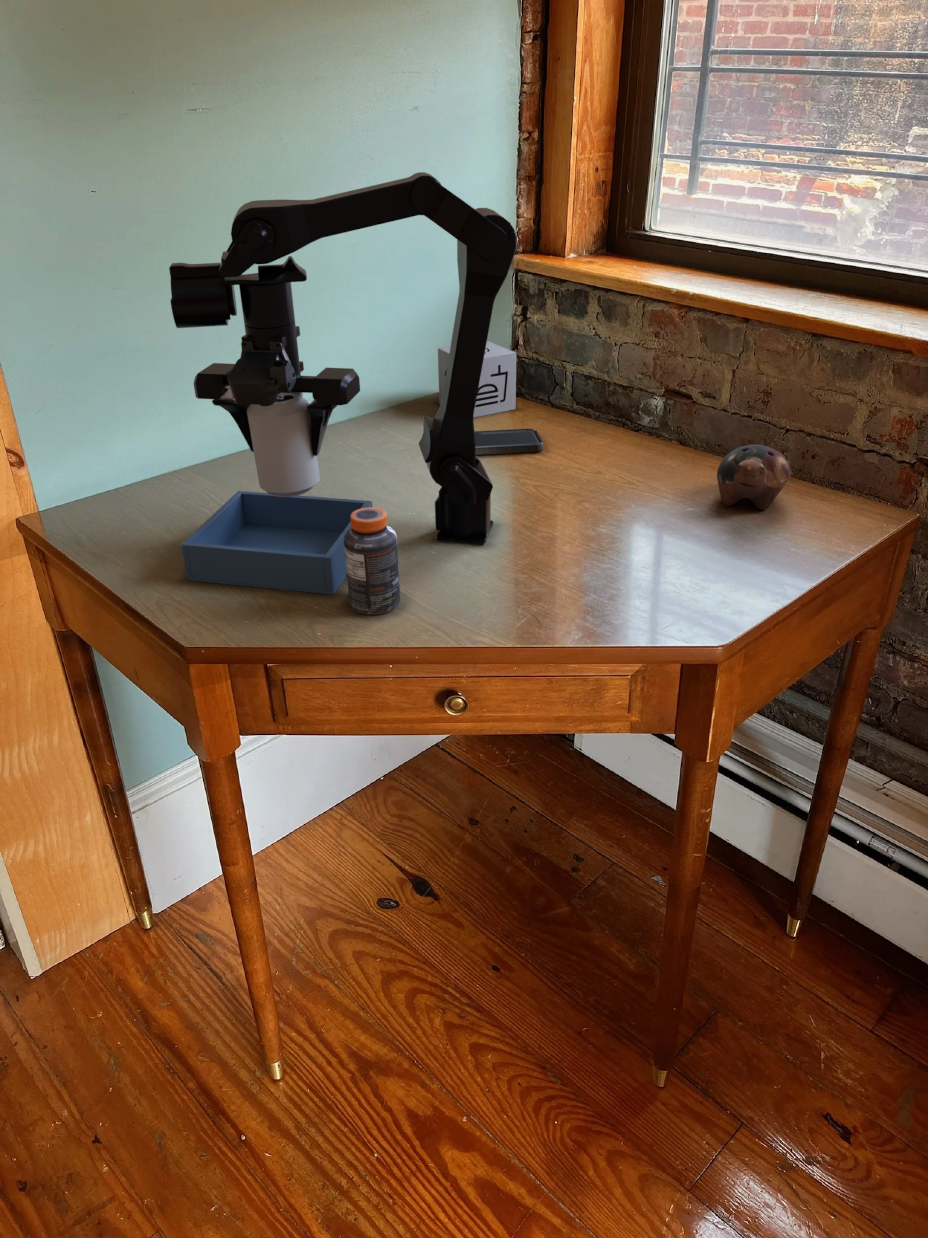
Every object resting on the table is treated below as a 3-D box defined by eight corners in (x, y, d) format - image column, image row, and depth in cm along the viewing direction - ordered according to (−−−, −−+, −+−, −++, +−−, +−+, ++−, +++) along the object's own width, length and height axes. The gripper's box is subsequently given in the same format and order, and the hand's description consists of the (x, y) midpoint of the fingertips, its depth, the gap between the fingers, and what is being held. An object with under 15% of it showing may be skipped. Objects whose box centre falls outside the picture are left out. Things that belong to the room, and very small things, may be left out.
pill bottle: (401, 590, 113) (396, 501, 107) (400, 615, 108) (395, 523, 102) (350, 591, 113) (343, 502, 107) (347, 616, 108) (339, 525, 102)
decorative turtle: (711, 518, 129) (715, 461, 126) (718, 484, 142) (722, 430, 139) (786, 523, 126) (793, 464, 123) (787, 487, 139) (793, 433, 136)
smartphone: (544, 444, 151) (449, 449, 149) (544, 451, 151) (449, 456, 150) (535, 427, 158) (444, 432, 156) (535, 434, 158) (444, 438, 157)
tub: (374, 534, 126) (372, 500, 124) (333, 594, 112) (329, 557, 110) (242, 523, 130) (238, 490, 127) (187, 580, 116) (180, 544, 113)
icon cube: (515, 409, 170) (516, 352, 165) (467, 418, 166) (466, 361, 161) (486, 394, 178) (486, 340, 172) (439, 403, 173) (437, 348, 168)
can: (309, 500, 115) (295, 403, 109) (251, 498, 117) (234, 402, 111) (328, 477, 122) (316, 384, 115) (273, 475, 123) (258, 383, 117)
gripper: (161, 337, 104) (185, 473, 112) (324, 343, 100) (337, 482, 108) (205, 313, 113) (224, 440, 121) (356, 318, 110) (366, 448, 118)
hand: (285, 452), depth 117 cm, fingers closed on can, 7 cm apart
